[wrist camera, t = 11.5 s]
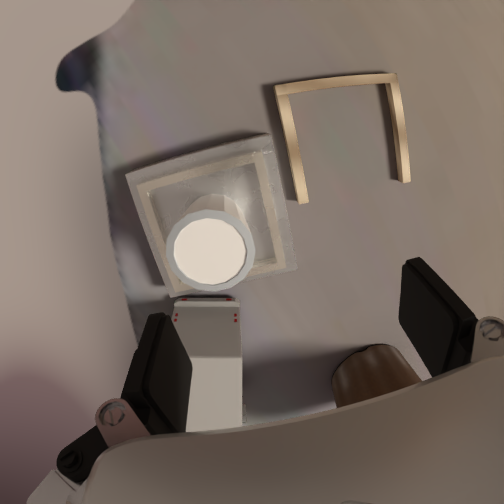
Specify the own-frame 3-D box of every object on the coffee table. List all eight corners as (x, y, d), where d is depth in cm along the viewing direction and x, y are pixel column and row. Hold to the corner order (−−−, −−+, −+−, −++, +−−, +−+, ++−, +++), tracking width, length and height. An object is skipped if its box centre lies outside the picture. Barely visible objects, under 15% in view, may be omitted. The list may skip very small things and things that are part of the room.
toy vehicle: (186, 389, 43) (180, 443, 34) (170, 292, 36) (154, 350, 27) (243, 389, 44) (247, 444, 35) (244, 292, 36) (249, 351, 27)
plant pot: (429, 335, 42) (478, 407, 27) (384, 400, 48) (413, 470, 34) (344, 328, 39) (387, 423, 25) (304, 401, 46) (324, 486, 31)
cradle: (272, 86, 26) (274, 85, 25) (391, 74, 26) (396, 73, 25) (296, 200, 32) (299, 204, 31) (405, 179, 31) (410, 181, 30)
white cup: (190, 177, 27) (178, 197, 21) (260, 200, 29) (269, 226, 23) (171, 242, 30) (156, 278, 24) (236, 262, 31) (238, 301, 25)
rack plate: (132, 169, 29) (120, 177, 26) (267, 133, 28) (272, 135, 25) (173, 285, 35) (168, 304, 32) (293, 258, 34) (299, 275, 31)
